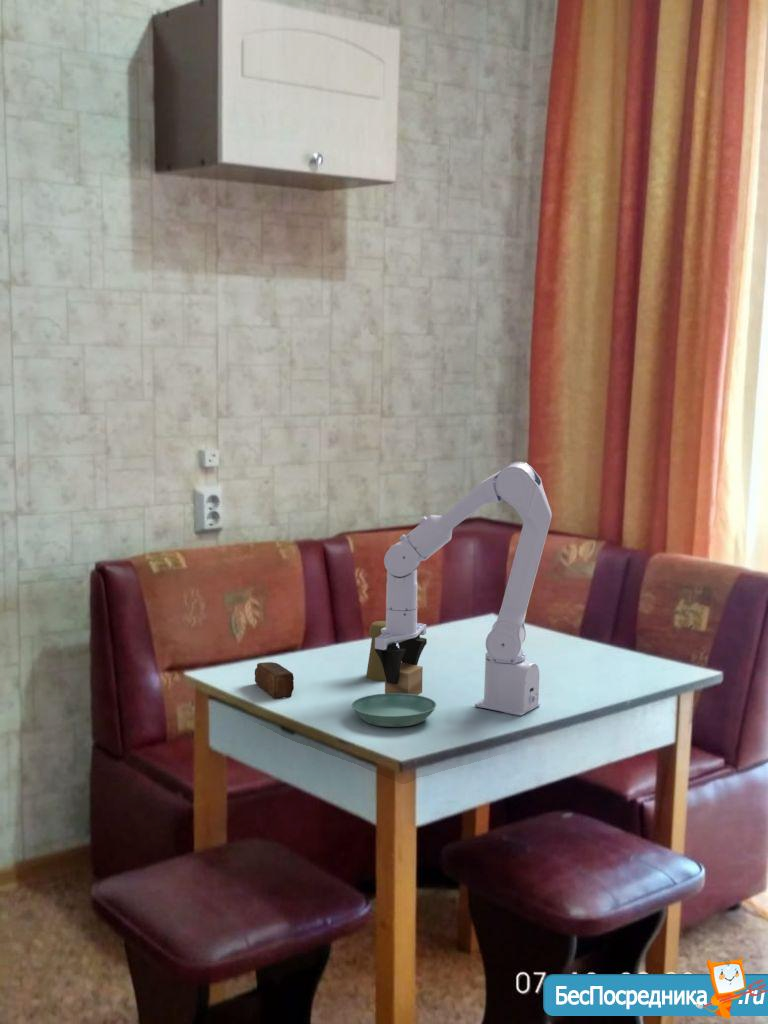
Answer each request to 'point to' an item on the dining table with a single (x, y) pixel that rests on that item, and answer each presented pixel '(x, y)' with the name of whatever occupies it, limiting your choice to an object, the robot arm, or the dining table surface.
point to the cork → (374, 662)
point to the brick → (274, 679)
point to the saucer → (394, 709)
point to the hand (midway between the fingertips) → (400, 679)
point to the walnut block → (407, 680)
